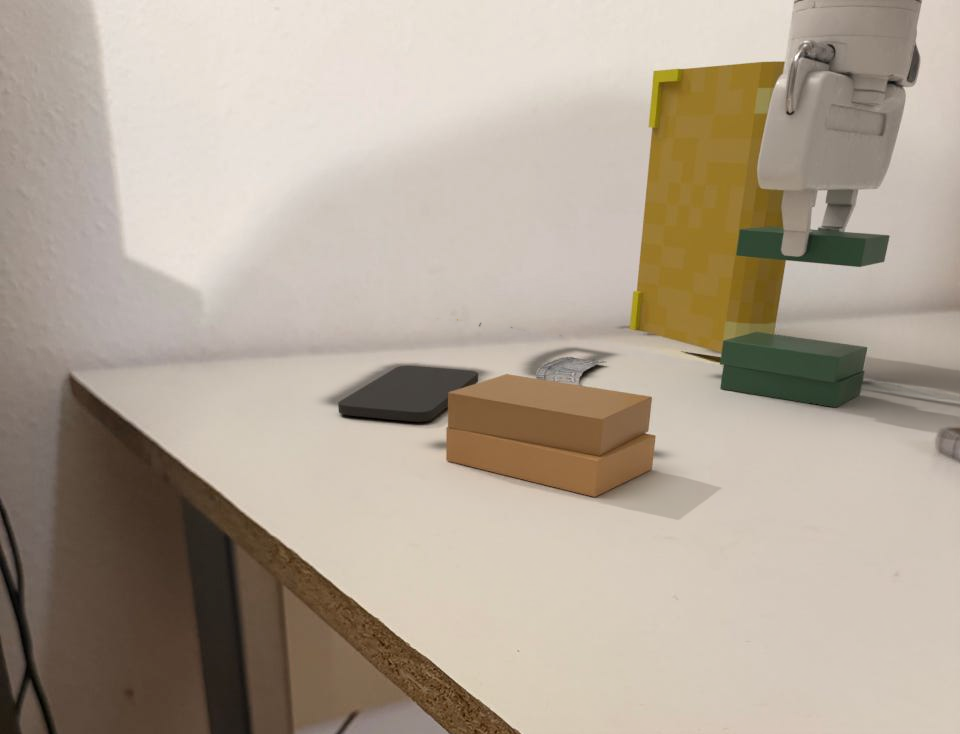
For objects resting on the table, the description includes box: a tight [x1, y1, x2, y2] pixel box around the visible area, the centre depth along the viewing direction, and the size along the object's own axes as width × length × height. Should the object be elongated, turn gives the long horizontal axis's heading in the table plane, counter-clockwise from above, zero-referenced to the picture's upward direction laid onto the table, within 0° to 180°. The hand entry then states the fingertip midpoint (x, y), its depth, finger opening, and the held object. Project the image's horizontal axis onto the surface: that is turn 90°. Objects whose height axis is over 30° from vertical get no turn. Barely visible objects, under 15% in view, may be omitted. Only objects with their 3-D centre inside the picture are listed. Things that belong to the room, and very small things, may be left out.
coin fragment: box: [535, 356, 607, 385], centre depth 86 cm, size 13×5×1 cm, turn 160°
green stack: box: [719, 332, 868, 408], centre depth 81 cm, size 10×7×4 cm
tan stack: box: [445, 373, 657, 498], centre depth 60 cm, size 11×8×4 cm
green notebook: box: [736, 226, 891, 268], centre depth 76 cm, size 10×6×2 cm, turn 53°
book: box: [629, 60, 787, 363], centre depth 92 cm, size 17×7×25 cm, turn 27°
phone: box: [337, 365, 479, 423], centre depth 75 cm, size 7×1×15 cm
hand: (811, 253), depth 76 cm, fingers closed on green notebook, 6 cm apart
